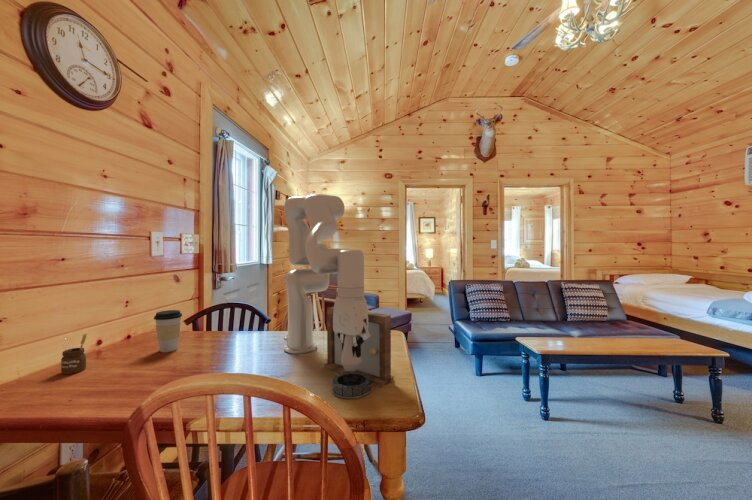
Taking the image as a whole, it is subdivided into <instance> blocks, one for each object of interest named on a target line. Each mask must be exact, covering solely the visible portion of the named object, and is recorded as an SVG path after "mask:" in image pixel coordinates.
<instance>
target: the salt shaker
mask: <svg viewBox="0 0 752 500" xmlns="http://www.w3.org/2000/svg"><path fill="white" fill-rule="evenodd" d="M357 340H358V339H357ZM352 346H354V345H353V336H349V335H345V339H344V346H343V351H342V357H341V363H342V365H343V368H344V369H345V370H346V371H356V370H358V368H359V366H360V364H361V361H362V359H361V356H360V357H356V352H355V354H354V357H353V352H352Z"/></svg>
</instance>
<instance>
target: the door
mask: <svg viewBox="0 0 752 500" xmlns="http://www.w3.org/2000/svg"><path fill="white" fill-rule="evenodd" d="M368 330H369V333H370V335H371V337H370V338H369V339H367V340H365V341H364V342H363V344H361V359H362V361H361V364H360V366H359V368H358V371H361V372H365V373H368V374H371V375H374V376H377V377H380V360H379V323H377V322H371V321H369V327H368ZM362 336H363V333H362ZM357 339H358V337H357ZM341 357H342V343H340V339H339V337H338V335H337V334H336V333H335V363H336V364H339V365H342V363H341ZM342 366H343V365H342Z"/></svg>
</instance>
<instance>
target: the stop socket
mask: <svg viewBox="0 0 752 500" xmlns="http://www.w3.org/2000/svg"><path fill="white" fill-rule="evenodd" d="M331 383H332V386H331V387H332V388H331V393H332V395H333V396H335V397H336V398H339V399H342V400H343V399H345V400H355V399H361V398H365V397H366V396H368V395H369V394H370V393H371V390H372V389H371V388H372V386H371V383H370V378H369V377H368V376H367V375H366V374H363V373H359V372H348V373H342V374H341V373H338V375H336V376H334V377H333V379H332V381H331Z"/></svg>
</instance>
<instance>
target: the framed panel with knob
mask: <svg viewBox="0 0 752 500" xmlns="http://www.w3.org/2000/svg"><path fill="white" fill-rule="evenodd" d="M326 310H327V311H326V325H327V327H326V333H327V334H326V336H327V337H326V346H327V348H326V349H327V351H326V353H327V358H326V360H327V362H326V363H324V364H323V367H324V369H326V370H329V371H332V372H336V373H338V374H342V373H348V372H359V373H363V374H366V375H367V376H368V377H369V378H370V385H374V386H378V387H380V388H383V387H385V386H386V385H388V384H390V383H391V382H393V381H395V378H394V377H395V375H392V373H391V372H392V367H391V365H392V361H391V360H392V359H391V357H392V354H391V353H392V348H391V347H392V344H391V343H392V340H391V339H392V331H391V330H392V326H391V325H392V324H391V323H392V322H391V320H392V319H391V317H392V316H391V314H386V313H385V314H384V313H379V312H372V311H368V321H371V322H377V323H379V360H380V377H377V376H374V375H371V374H368V373H365V372H361V371H358V370H356V371H346V370H345V369H344V368H343V366H342V365H339V364H336V363H335V332H334V331H333V310H334V305H333V306H329V307H326Z"/></svg>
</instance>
